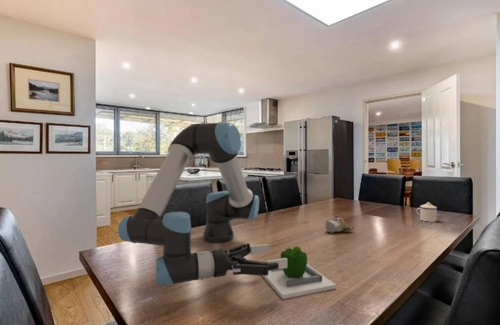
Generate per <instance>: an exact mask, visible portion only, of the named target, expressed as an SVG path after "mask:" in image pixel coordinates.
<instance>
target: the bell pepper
mask: <svg viewBox="0 0 500 325" xmlns="http://www.w3.org/2000/svg"><path fill="white" fill-rule="evenodd" d="M301 249H302V248H301V246H298V245H296V246H294V247H293V248H290V247H288V248H286V249H285V250H284V251H281V253H280V259H282V258H287V268H284V269H283V272H284V273H285V275H286V276H288V277H296V278H300V277H302V276H303V274H304V273H305V269H306V265H307V264H308V255H307V253H306V252H305V251H302V250H301Z"/></svg>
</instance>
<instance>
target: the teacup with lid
mask: <svg viewBox="0 0 500 325" xmlns="http://www.w3.org/2000/svg"><path fill="white" fill-rule="evenodd" d="M437 209H438V207H437V206H435V205H433V204H432V203H431V202H428V201H427V202H426V203H425V204H421V205H420V206H419V207H417V208H416V213H417V215H418V216H419V217H420V218H419V219H420V220H419V221H421V220H423V221H422V222H424V221H429V222H428V223H436V222H435V221H437V218H438V216H437V215H438V213H437V212H438V210H437Z"/></svg>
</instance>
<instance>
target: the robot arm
mask: <svg viewBox="0 0 500 325" xmlns="http://www.w3.org/2000/svg"><path fill="white" fill-rule="evenodd" d="M241 146H242V141H241V134H240V131H239V129H238V127H237V126H236V125H235V124H234V123H232V122H224V121H220V122H219V121H218V122H211V123H208V122H207V123H194V124H190V125H189V126H187V127H185V128H184V129H182V130H181V131H179V133H178V134H177V135H176V136H175V137H174V138H173V140H172V141H171V143H170V144H169V146H168V147H167V152H168V154H167V155H166V156H165V159H164V161H163V162H162V164H161V166H160V167H159V169H158V172H157V173H156V175H155V177H154V178H153V180H152V182H151V184H150V185H149V187H148V189H147V190H146V192H145V194H144V197H143V198H142V199H141V202H140V203H139V205H138V207H137V209H136V210H135V212H134V214H132V215H127V216H125V217H124V218H122V219H121V221H120V222H119V223H118V227H117V234H118V237H119V238H120V239H121V240H122V241H124V242H128V243H132V244H144V245H145V244H146V245H152V246H161V247H162V248H163V251H162V252H163V253H162V255H161V256H158V257H156V260H155V270H156V273H155V278H156V279H155V282H156V284H157V285H159V286H166V285H167V286H169V285H176V284H180V283H188V282H194V281H199V280H200V282H201V281H204V280H207V279H211V278H212V277H213V278H220V277H225V276H226V275H227V272H228V271H232V275H233V276H239V275H240V276H241V275H249V276H262V275H264V276H267V275H268V271H271V270H277V269H284V268H287V258H282V259H281V258H277V259H269V260H265V261H258V260H251V259H247V258H246V256H248V255H251V256H252V255H259V254H266V253H269V252H270V244H269V243H266V244H264V243H263V244H256V245H250V243H244V244H240V245H238V246H234V247H231V248H229V249H223V248H221V249H214V250H212V251H210V250H206V251H204V250H203V251H195V252H192V247H191V243H192V239H191V238H192V236H191V235H192V222H191V215H190V214H189V213H188V212H185V211H171V212H166V213H165V214H164V211H165V209H166V207H167V205H168V203H169V201H170V200H171V197H172V195H173V193H174V192H175V189H176V187H177V185H178V183H179V180H180V179H181V177H182V175H183V173H184V172H185V169H186V167H187V165H188V163H190V162H192V160H193V159H194V157H195V156H196V155H208V156H209V158H210V160H211V161H212V163H214V164H216V165H217V167H218V170H219V172H220V175H221V178H222V180H223V183H224V185H225V187H226V189H227V190H222V191H215V192H210V193H208V194H207V195H206V202H205V203H206V225H205V227H204V231H203V234H202V237H203V238H202V239H203V241H206V242H208V243H214V244H215V243H227V242H229V241H231V240H233V239H234V230H233V227H232V224H231V219H235V220H236V219H237V220H238V219H239V220H247V221H249V220H252V221H253V220H256V219H257V217H258V214H259V209H260V197H259V195H256V194H253V191H252V190H251V189H250V188H248V186H247V183H246V180H245V177H244V174H243V171H242V169H241V168H242V167H241V165H240V162H239V160H238V159H239V158H238V155H239V152H240V150H241V148H242V147H241Z"/></svg>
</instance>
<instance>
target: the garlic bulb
mask: <svg viewBox="0 0 500 325" xmlns="http://www.w3.org/2000/svg"><path fill="white" fill-rule="evenodd" d="M353 229H354V227H350V226H348V225H346V222H345V220H344V219H343V218H340V217H338V216H337V215H336V216H334V217H333V218H332V219H331V220H328V219H326V221H325V230H326V231H327V233H329V232H330V233H331V234H334V233H335V232H337V233H340V232H349V231H351V230H353Z"/></svg>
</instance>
